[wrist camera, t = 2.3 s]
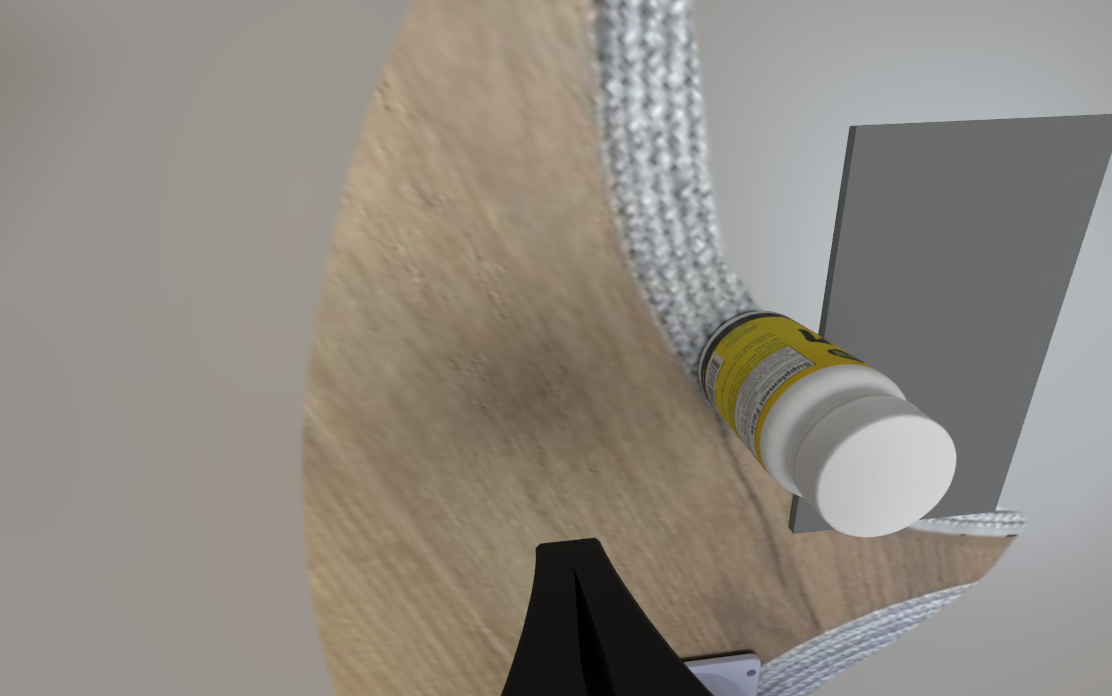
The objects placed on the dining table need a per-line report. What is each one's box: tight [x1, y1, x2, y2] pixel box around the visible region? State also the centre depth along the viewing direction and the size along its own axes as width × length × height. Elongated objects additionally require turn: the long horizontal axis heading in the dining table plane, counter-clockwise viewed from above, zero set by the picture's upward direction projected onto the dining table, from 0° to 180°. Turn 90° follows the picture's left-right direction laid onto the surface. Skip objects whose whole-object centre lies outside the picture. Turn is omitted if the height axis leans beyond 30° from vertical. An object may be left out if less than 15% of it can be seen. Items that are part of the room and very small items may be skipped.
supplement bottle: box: [699, 311, 956, 537], centre depth 18 cm, size 5×5×8 cm
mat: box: [789, 114, 1112, 534], centre depth 23 cm, size 18×10×1 cm, turn 3°
